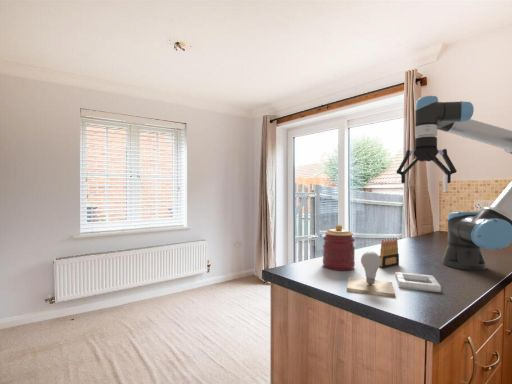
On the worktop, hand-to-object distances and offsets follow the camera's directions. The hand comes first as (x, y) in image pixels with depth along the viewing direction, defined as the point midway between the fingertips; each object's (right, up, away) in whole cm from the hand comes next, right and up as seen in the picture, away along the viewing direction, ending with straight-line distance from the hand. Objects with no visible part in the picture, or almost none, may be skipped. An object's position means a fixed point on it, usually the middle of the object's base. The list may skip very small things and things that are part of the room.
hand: (424, 191), depth 114 cm
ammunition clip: (-10, -32, +9) cm, 35 cm away
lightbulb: (-28, -31, -18) cm, 45 cm away
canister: (-32, -32, +8) cm, 45 cm away
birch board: (-28, -32, -18) cm, 46 cm away
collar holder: (-11, -32, -14) cm, 36 cm away
